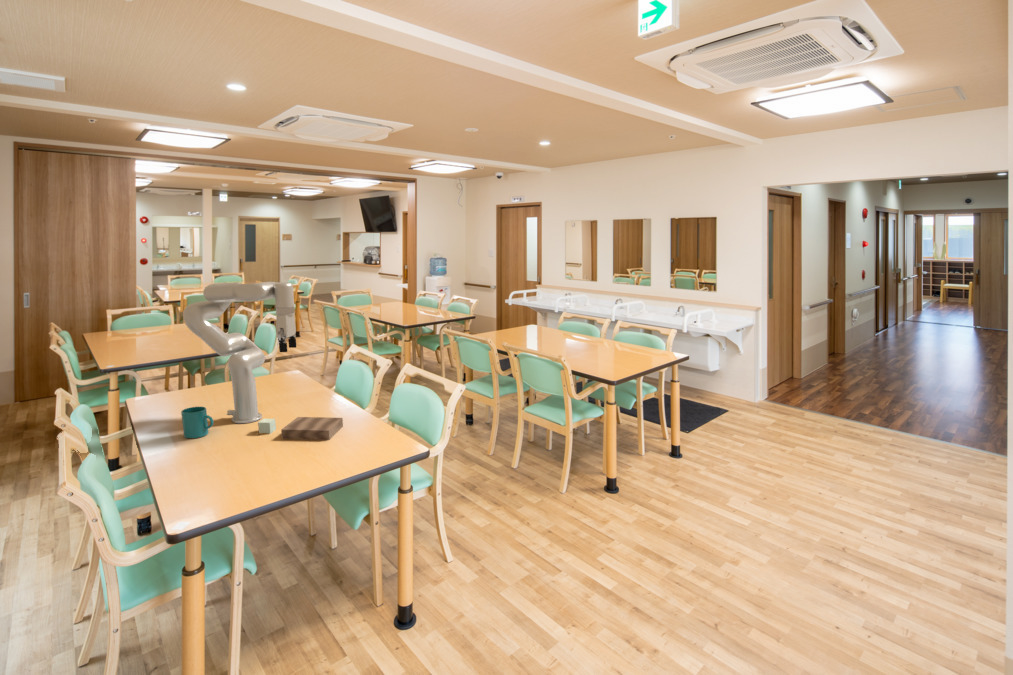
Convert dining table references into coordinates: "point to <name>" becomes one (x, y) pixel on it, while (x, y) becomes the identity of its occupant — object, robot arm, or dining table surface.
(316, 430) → the walnut plinth
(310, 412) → the dining table surface
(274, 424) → the sage cube
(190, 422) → the cup
